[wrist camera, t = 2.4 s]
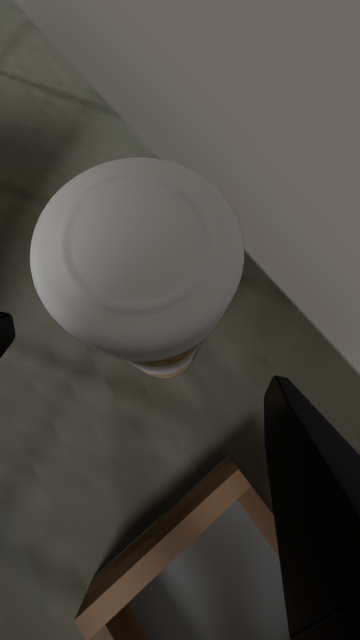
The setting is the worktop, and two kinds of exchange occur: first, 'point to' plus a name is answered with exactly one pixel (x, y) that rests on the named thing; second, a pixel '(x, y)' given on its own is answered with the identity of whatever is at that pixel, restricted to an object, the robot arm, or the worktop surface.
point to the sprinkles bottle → (138, 261)
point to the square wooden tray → (195, 571)
